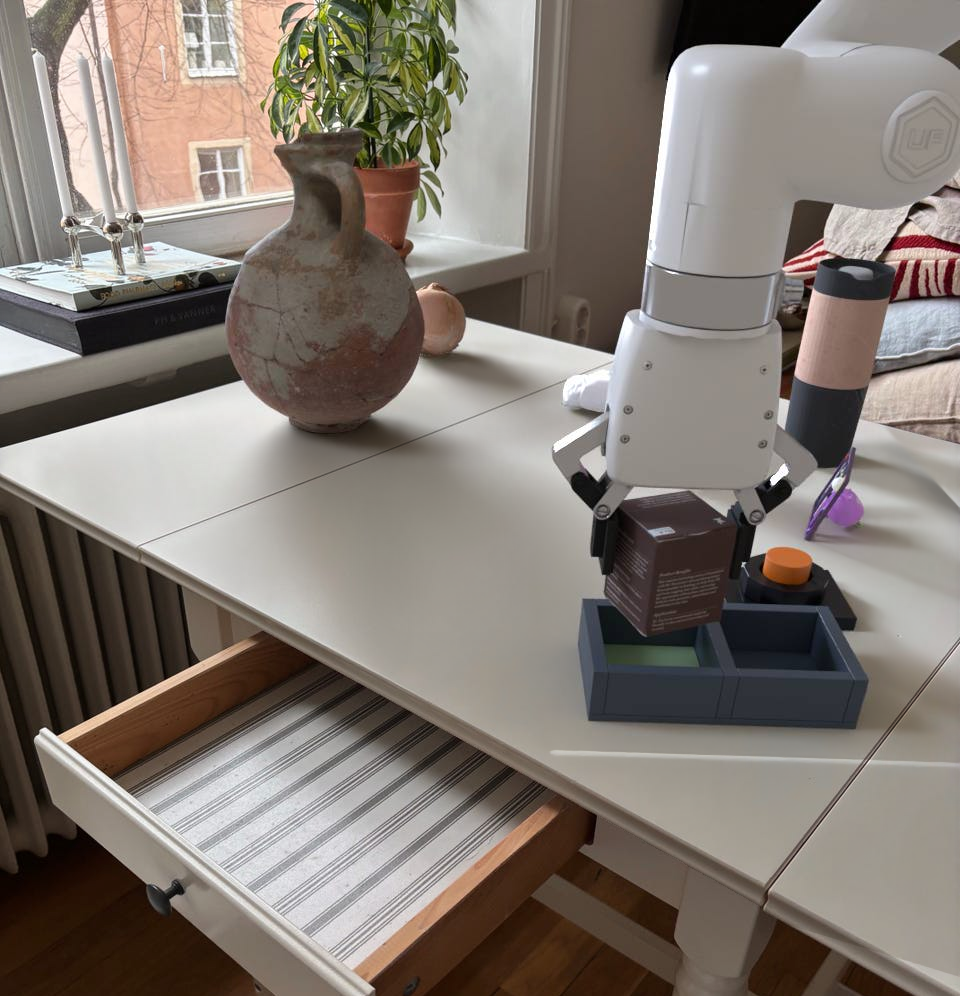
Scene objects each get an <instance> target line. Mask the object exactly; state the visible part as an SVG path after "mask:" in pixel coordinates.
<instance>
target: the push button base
mask: <svg viewBox="0 0 960 996" xmlns="http://www.w3.org/2000/svg"><path fill="white" fill-rule="evenodd" d="M766 553H767V552H764V553H760V554H756V555H752V556H751V557H750V560H749V562H744V565H743V566H742V567H741V572H740V577H739V579H738V580H733V579H730V578H729V577H728V582H727V587H726V593H725V598H724V603H742V604H773V605H804V606H828V607H829V609H830V611H831V613H832V615H833V616H834V618H835V620H836V622H837V623H838V625H839V627H840V629H841V631H842V632H843V631H846V632H847V631H848V632H854V631H855V628H856V626H857V621H858V617H857V615H856V614H855V612H854V610H853V609H852V607H851V606H850V604H849V602H848V601H847V599H846V597H845V595H844V594H843V592H842V589H840V587H839V585H838V584H837V582H836V581H835V580H836V579H834V577H833V575H832V574H831V572H830V570H829V569H824V567H822V566H821V565H819V564H817V563H815V562H813V561H812V566H811V570H810V574H809V578H808V581H807V582H806V583H804V584H800V585H796V584H783V583H779V582H775V581H772V580H770V579H769V578H767V577H766V576H764V575H763V572H762V571H763V567H764V562H765V557H766Z"/></svg>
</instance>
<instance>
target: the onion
mask: <svg viewBox="0 0 960 996" xmlns="http://www.w3.org/2000/svg"><path fill="white" fill-rule="evenodd" d="M415 290H416V289H415ZM416 293H417V296H418V299H419V302H420V305H421V308H422V312H423V317H424V324H425V334H424V342H423V346H422V351H421V354H420V356H423V357H425V358H429V356H430V357H437V356H443V357H445V354H446V353H447V354H448V355H450V354H453V351H454V350H457V348H458V347H459V346H460V342H462V340H463V338H464V335H465V332H466V329H467V328H466V327H467V319H466V313H465V309H464V307H463V305H462V303H461V302H460V301H459V300H458V299H457V297H455V296H454V295H453V294H452V293H451V292H450V291H449V289H448V288H446V287H445V286H444V285H442V284H441V283H438V282H432V283H431V284H430V285H429V284H427V285H424V286H423V287H421V288H419V289H417V290H416Z"/></svg>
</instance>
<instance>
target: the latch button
mask: <svg viewBox="0 0 960 996" xmlns="http://www.w3.org/2000/svg"><path fill="white" fill-rule="evenodd" d="M765 553H766V557H765V562H764V567H763V571H762V572H763V575H764V576H766V577H767V578H769V579H770V580H772V581H775V582H779V583H783V584H796V585H800V584H804V583H806V582H807V581H808V578H809V574H810V570H811V566H812V562H813V558H812V556H811V555H810V554H808V553H807V552H806V551H803V550H801V549H798V548H795V547H790V546H775V547H772V548H769V549H768V550H767V551H766V552H765Z"/></svg>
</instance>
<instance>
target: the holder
mask: <svg viewBox="0 0 960 996" xmlns="http://www.w3.org/2000/svg"><path fill="white" fill-rule="evenodd" d="M577 650H578V656H579V657H578V658H579V664H580V671H581V678H582V686H583V694H584V700H585V708H586V709H585V710H586V715H587V721H588V722H609V723H640V724H641V723H642V724H643V723H644V724H669V725H670V724H672V725H674V724H677V725H707V726H736V727H737V726H739V727H765V728H766V727H770V728H772V727H773V728H802V729H832V730H833V729H837V730H856V727H857V724H858V721H859V717H860V714H861V712H862V711H861V710H862V707H863V704H864V701H865V696H866V694H867V690H868V687H869V684H870V679H869V677H868V675H867V673H866V671H865V670H864V668H863V666H862V665H861V662H860V661H859V660H858V658H857V655H856V654H855V652H854V650H853V649H852V647H851V645H850V643H849V641H848V640H847V638H846V636H845V633H843V630H841V629H840V627H839V625H838V623H837V622H836V620H835V618H834V616H833V615H832V613H831V611H830V609H829V607H828V606H804V605H773V604H742V603H723V609H722V615H721V620H720V621H719V622H713V623H707V624H703V625H698V626H693V627H689V628H684V629H678V630H674V631H670V632H665V633H661V634H656V635H652V636H648V637H645V636H643V635H642V634H641V633H640V632H639V631H638V630H637V629H636V627H634V626H633V625H632V623H631V622H630V621H629V620H628V619H627V618H626V617H625V616H624V615H623V614H622V613H621V612H620V611H619V610H618V609H617V608H616V607H615V606H614V605H613V604H612V603H611V602H610V601H609V600H608V599H607V598H586V597H582V599H581V609H580V618H579V630H578V638H577Z"/></svg>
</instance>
